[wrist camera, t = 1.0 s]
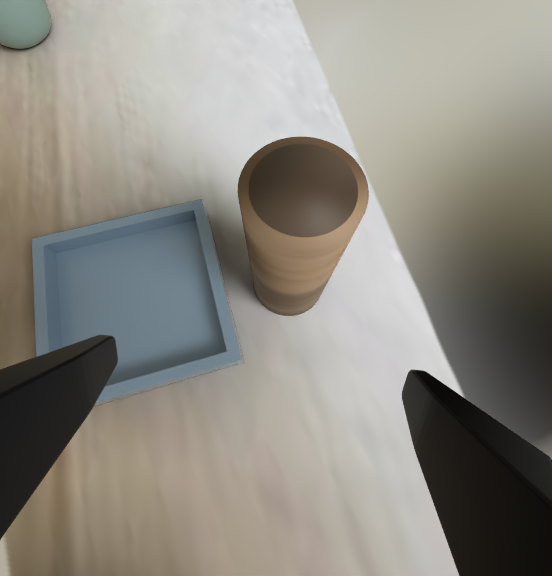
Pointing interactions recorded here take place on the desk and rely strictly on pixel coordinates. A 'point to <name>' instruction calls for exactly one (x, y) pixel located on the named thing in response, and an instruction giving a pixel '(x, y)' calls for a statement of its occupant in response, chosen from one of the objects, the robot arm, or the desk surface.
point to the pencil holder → (298, 218)
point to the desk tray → (138, 296)
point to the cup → (23, 22)
